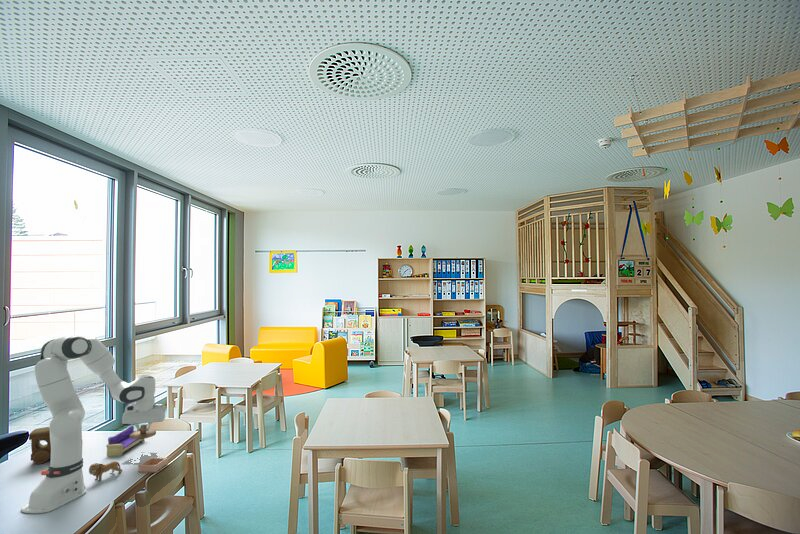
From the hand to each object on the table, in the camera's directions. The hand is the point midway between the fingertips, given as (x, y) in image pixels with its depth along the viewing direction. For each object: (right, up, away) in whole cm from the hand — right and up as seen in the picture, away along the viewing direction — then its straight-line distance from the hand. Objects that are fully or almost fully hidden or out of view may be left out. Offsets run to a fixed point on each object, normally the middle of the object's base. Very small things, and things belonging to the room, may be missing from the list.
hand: (143, 430), depth 210 cm
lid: (0, -2, 0) cm, 2 cm away
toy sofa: (-19, -17, +13) cm, 28 cm away
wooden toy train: (-49, -16, 0) cm, 51 cm away
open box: (+13, -15, -11) cm, 23 cm away
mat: (0, -16, 0) cm, 16 cm away
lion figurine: (-5, -15, -21) cm, 26 cm away
